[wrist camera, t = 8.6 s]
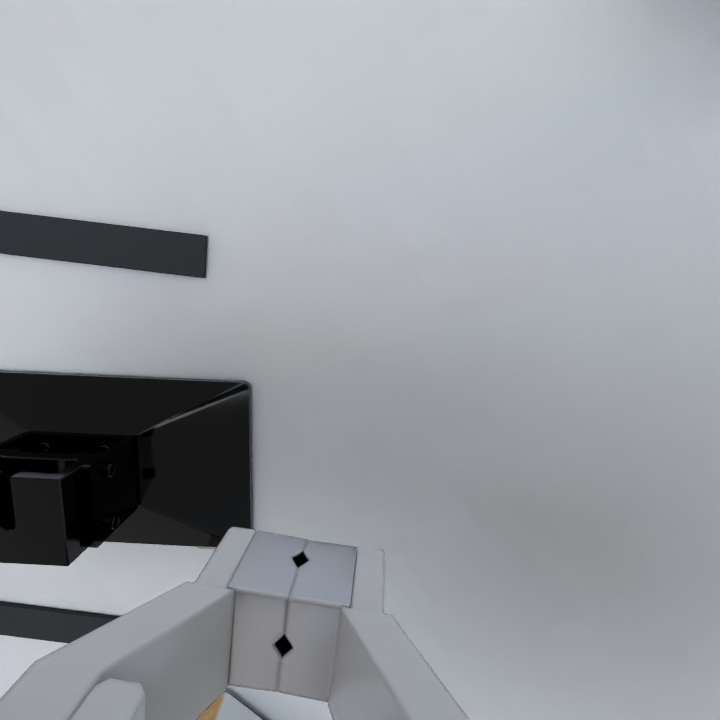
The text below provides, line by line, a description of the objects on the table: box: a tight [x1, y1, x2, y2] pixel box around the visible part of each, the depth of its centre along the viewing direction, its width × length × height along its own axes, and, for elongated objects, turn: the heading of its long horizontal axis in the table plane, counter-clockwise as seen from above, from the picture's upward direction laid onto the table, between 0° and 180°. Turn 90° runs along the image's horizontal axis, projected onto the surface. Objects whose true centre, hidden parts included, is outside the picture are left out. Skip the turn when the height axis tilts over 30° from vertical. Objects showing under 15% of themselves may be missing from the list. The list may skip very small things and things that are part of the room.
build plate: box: [0, 370, 253, 566], centre depth 15 cm, size 12×7×5 cm, turn 88°
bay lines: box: [0, 211, 207, 643], centre depth 17 cm, size 10×18×1 cm, turn 173°
